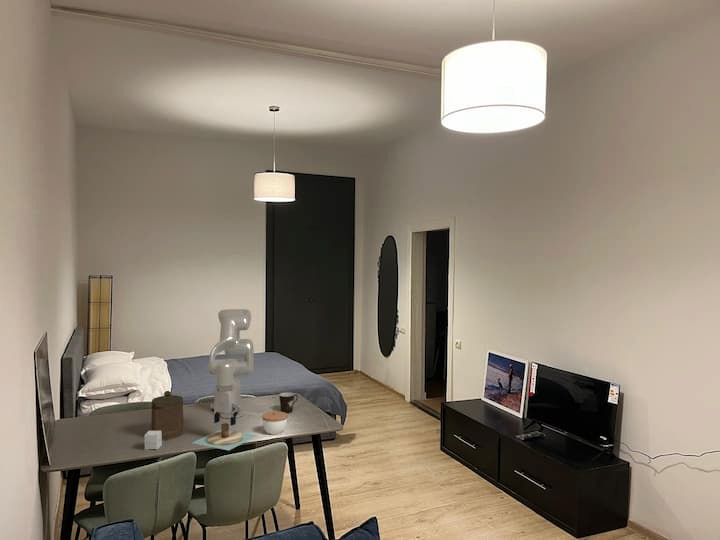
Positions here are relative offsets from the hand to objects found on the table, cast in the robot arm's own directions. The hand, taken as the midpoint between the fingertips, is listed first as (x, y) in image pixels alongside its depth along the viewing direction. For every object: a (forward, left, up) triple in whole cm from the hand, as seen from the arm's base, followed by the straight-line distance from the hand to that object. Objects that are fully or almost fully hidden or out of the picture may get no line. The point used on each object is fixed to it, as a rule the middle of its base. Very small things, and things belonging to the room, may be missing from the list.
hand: (224, 423), depth 258 cm
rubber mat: (0, 0, -8) cm, 8 cm away
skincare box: (-23, -23, -9) cm, 34 cm away
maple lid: (0, 0, -8) cm, 8 cm away
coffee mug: (+3, +53, -8) cm, 54 cm away
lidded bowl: (+16, +19, -9) cm, 26 cm away
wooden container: (-30, -7, -9) cm, 32 cm away
